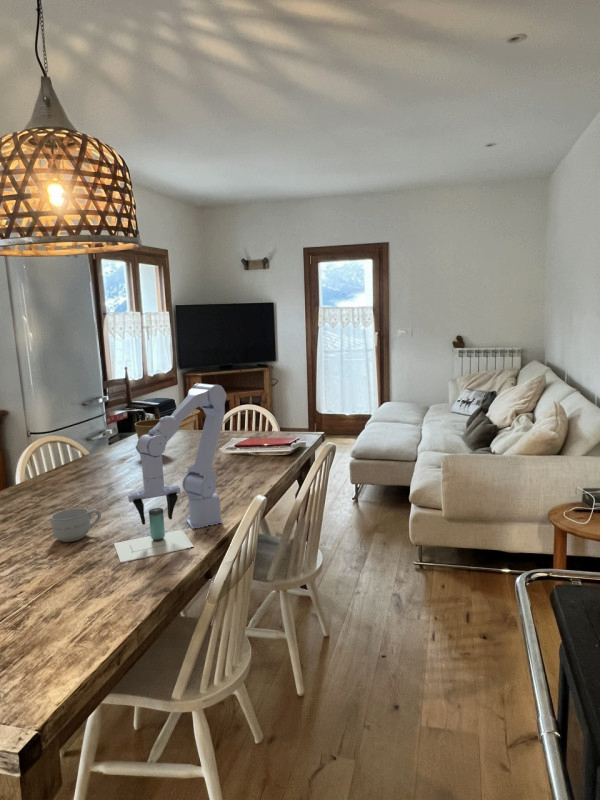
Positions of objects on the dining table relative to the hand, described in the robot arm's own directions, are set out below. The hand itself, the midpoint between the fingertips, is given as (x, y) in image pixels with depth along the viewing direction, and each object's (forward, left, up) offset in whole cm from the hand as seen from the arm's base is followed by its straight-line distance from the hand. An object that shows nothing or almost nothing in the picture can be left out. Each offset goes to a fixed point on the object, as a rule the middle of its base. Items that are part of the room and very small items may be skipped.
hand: (156, 520), depth 163 cm
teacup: (+21, -15, -6) cm, 27 cm away
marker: (0, 0, -6) cm, 6 cm away
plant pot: (-18, -101, -6) cm, 103 cm away
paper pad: (+2, +3, -6) cm, 7 cm away
